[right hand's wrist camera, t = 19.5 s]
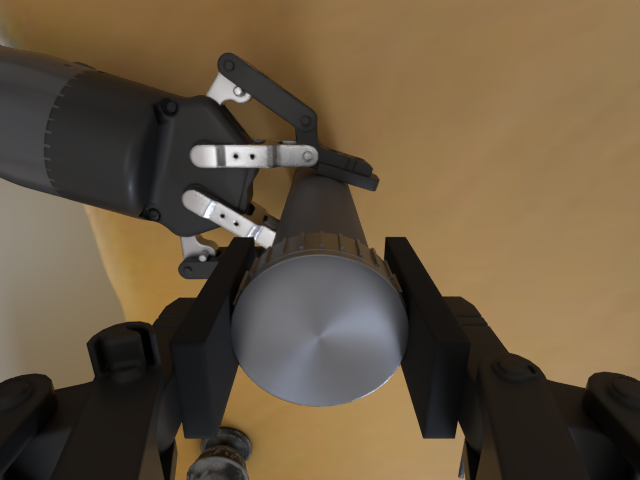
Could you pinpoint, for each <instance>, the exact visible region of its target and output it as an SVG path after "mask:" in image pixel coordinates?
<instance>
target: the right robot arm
mask: <svg viewBox="0 0 640 480" xmlns="http://www.w3.org/2000/svg"><path fill="white" fill-rule="evenodd" d="M254 260H255V244H254V237H234V238H233V240H232V241H231V243H230V244H229V246H228V248H227V249H226V251H225V253H224V254H223V256H222V257H221V259H220V261H219V262H218V264H217V265H216V267H215V269H214V270H213V272H212V274H211V275H210V277H209V278H208V280H207V282H206V283H205V285H204V287H203V288H202V290H201V291H200V293H199V295H198V296H197V298H178V299H177V300H175V301H174V302H172V303H171V304H169V305H168V306H166V307H165V309H164V310H163V311H162V313H161V314H160V315H159V318H158V319H156V321H155V322H154V324H153V325H151V324H149V323H145V322H140V321H138V322H125V323H121V324H116V325H113V326H111V327H108V328H106V329H103V330H102V331H100V332H99V333H97V334H96V335H94V336H93V337H92V338H91V339H90V340H89V341H88V343H87V348H88V352H89V355H90V359H91V363H92V367H93V370H94V374H95V377H94V380H93V381H92V382H88V383H85V384H80V385H75V386H71V387H66V388H62V389H57V390H54V387H53V384H52V380H51V379H50V378H49V377H47V376H46V375H42V374H27V375H21V376H17V377H14V378H10V379H8V380H5V381H3V382H1V383H0V480H175V472H176V463H177V454H178V453H177V446H176V441H175V436H176V434H177V431H178V429H179V427H180V424H181V422H182V425H183V431H184V437H185V438H217V435H218V431H219V428H220V425H221V421H222V418H223V415H224V412H225V408H226V405H227V402H228V398H229V395H230V392H231V389H232V385H233V382H234V379H235V375H236V372H237V369H238V365H239V363H238V361H237V359H236V357H235V354H234V351H233V347H232V337H231V327H230V321H231V315H232V312H233V308H234V307H233V302H234V300H235V297H236V295H237V293H238V289H239V286H240V284H241V282H242V279H243V277H244V275H245V273H246V271H250V269H251V267H252V264H253V262H254ZM384 260H386V261H387V263H388V265H389V268H390V270H391V273H392V274H394V273H395V275H396V278H397V280H398V282H399V285H400V287H401V289H402V292H403V294H402V297H403V300H404V302H405V305H406V307H407V309H406V310H407V313H408V317H409V333H408V343H407V350H406V353H405V356H404V358H403V360H402V362H401V367H402V370H403V373H404V377H405V380H406V383H407V387H408V390H409V393H410V396H411V400H412V403H413V406H414V410H415V413H416V416H417V419H418V423H419V426H420V429H421V433H422V436H423V438H455V434H456V429H457V423H458V421H459V424H460V426H461V428H462V431H463V433H464V435H465V441H464V446H463V452H462V457H461V462H460V468H459V475H458V477H459V478H463V477H464V471H465V480H640V381H638V380H636V379H635V378H632V377H629V376H625V375H622V374H618V373H611V372H600V373H594V374H593V375H592V376H590V377H589V379H588V382H587V385H586V388H582V387H577V386H572V385H568V384H563V383H558V382H554V381H550V380H547V379H546V377H545V375H544V374H543V372H542V371H541V370H540V368H539V367H538V366H536V365H535V364H534V363H532V362H531V361H530V360H527V359H525V358H523V357H521V356H519V355H516V354H512V353H509V352H508V351H507V349H506V348H505V347H504V345H503V344H502V343H501V341H500V340H499V339H498V337H497V336H496V335H495V333H494V332H493V331H492V329H491V328H490V327H489V326H488V324H487V322H486V321H485V320H484V318H483V317H481V314H480V313H479V312H478V310H477V309H476V308H475V306H474V305H473V304H471V303H470V302H468V301H466V300H465V299H463V298H462V297H442V295H441V294H440V292H439V291H438V289H437V287H436V286H435V284H434V282H433V281H432V279H431V278H430V276H429V274H428V273H427V271H426V269H425V268H424V266H423V265H422V263H421V261H420V260H419V258H418V256H417V255H416V253H415V252H414V250H413V248H412V247H411V245H410V243H409V242H408V240H407V239H406V237H386V238H385V253H384Z"/></svg>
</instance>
